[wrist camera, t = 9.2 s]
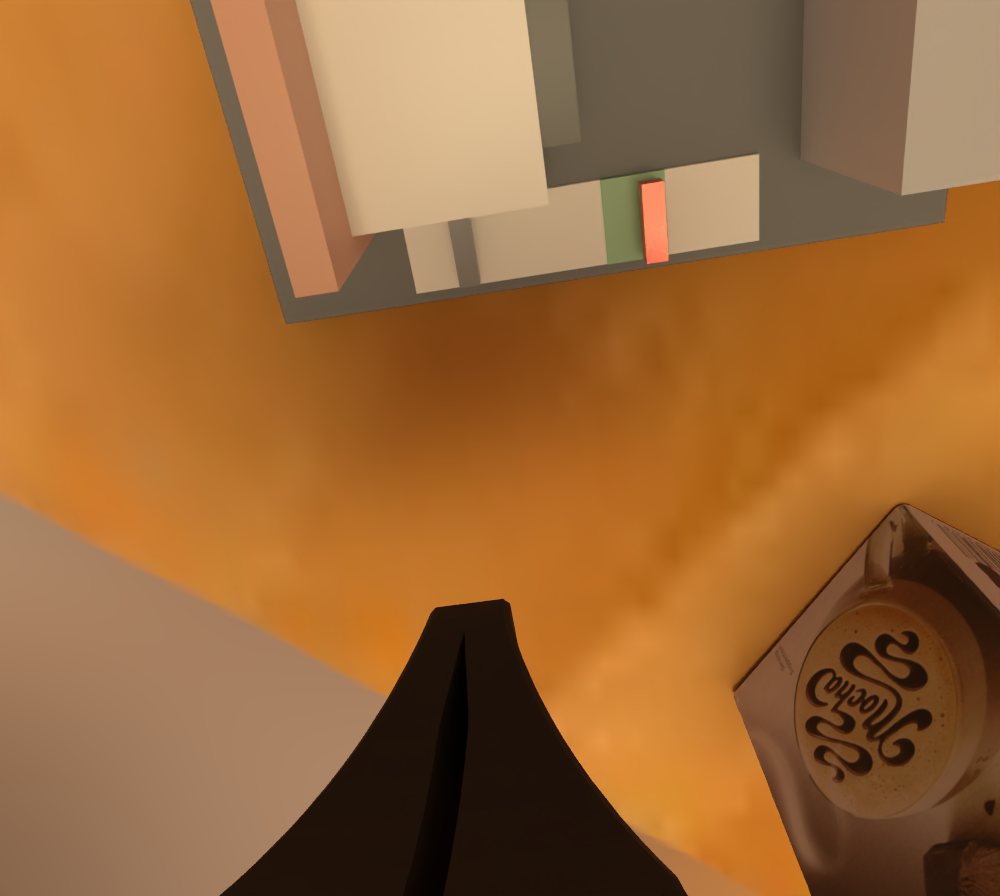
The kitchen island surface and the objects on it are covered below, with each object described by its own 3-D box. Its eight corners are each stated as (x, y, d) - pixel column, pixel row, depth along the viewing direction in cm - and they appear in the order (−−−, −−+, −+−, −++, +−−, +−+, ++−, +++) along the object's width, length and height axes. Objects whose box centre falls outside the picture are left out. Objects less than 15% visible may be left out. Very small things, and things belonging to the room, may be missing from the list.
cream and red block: (545, -111, 15) (567, -181, 11) (583, 261, 19) (613, 330, 14) (272, -59, 16) (180, -105, 11) (360, 296, 19) (317, 374, 14)
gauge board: (974, -306, 15) (1240, -504, 10) (923, 214, 20) (1084, 275, 14) (163, -145, 16) (-3, -244, 11) (295, 312, 21) (225, 403, 15)
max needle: (659, 177, 18) (664, 181, 17) (664, 255, 18) (668, 260, 18) (637, 181, 18) (641, 184, 17) (643, 258, 18) (646, 264, 18)
